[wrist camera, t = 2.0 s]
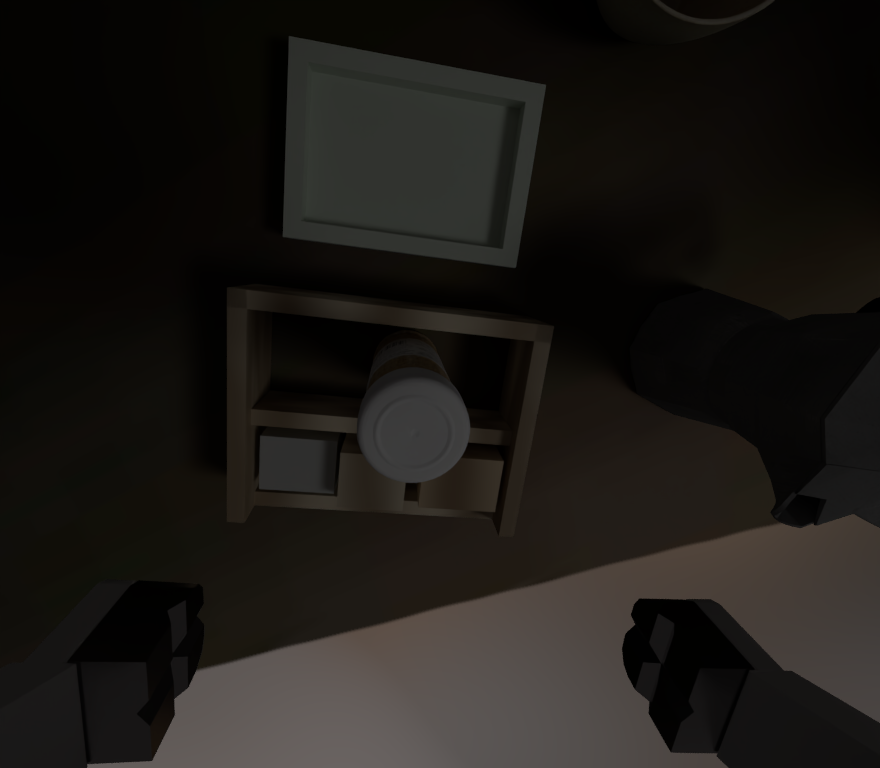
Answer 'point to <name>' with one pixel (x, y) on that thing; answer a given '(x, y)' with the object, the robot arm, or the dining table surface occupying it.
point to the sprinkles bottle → (411, 412)
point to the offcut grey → (299, 459)
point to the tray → (407, 154)
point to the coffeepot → (776, 394)
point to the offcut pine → (365, 482)
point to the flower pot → (674, 18)
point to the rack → (264, 407)
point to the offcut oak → (466, 482)
